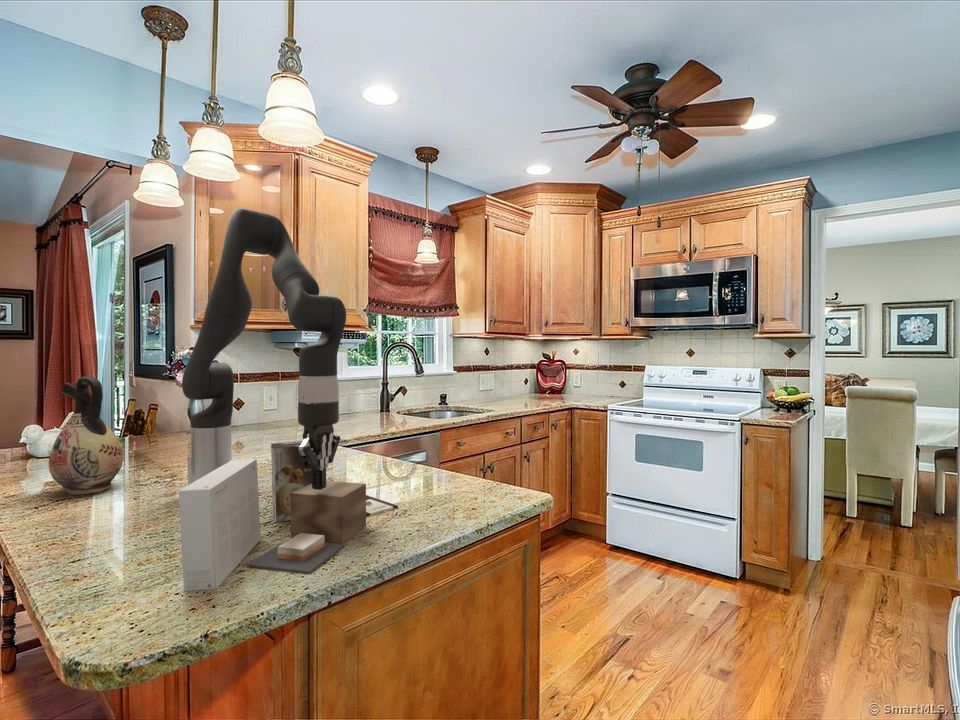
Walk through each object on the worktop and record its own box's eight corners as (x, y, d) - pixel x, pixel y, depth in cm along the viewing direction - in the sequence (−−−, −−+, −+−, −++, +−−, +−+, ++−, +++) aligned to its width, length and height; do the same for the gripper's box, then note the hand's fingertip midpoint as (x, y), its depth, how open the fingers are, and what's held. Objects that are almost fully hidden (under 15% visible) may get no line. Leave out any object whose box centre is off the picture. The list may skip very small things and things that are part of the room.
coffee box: (314, 508, 121) (313, 439, 120) (319, 516, 115) (318, 444, 115) (271, 514, 117) (270, 442, 116) (274, 523, 111) (274, 447, 110)
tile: (300, 533, 98) (300, 543, 98) (277, 546, 91) (277, 558, 91) (324, 535, 97) (324, 546, 97) (303, 549, 90) (303, 560, 90)
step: (291, 539, 101) (290, 493, 101) (318, 522, 111) (318, 480, 111) (342, 544, 99) (342, 497, 99) (366, 526, 109) (365, 483, 108)
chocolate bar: (354, 491, 134) (397, 505, 121) (354, 494, 134) (397, 509, 121) (322, 498, 127) (365, 514, 115) (322, 502, 127) (365, 518, 115)
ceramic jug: (34, 495, 131) (32, 376, 131) (99, 480, 146) (97, 373, 145) (78, 503, 125) (75, 377, 124) (141, 487, 139) (139, 374, 138)
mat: (246, 566, 89) (246, 564, 89) (288, 541, 100) (288, 539, 100) (309, 573, 86) (309, 571, 86) (345, 546, 98) (345, 544, 98)
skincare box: (232, 541, 101) (231, 459, 100) (261, 540, 101) (260, 458, 101) (178, 592, 80) (177, 488, 79) (215, 591, 80) (214, 488, 80)
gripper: (319, 395, 108) (319, 479, 108) (280, 402, 95) (281, 496, 95) (352, 396, 106) (352, 481, 106) (317, 403, 93) (318, 499, 94)
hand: (319, 488), depth 101 cm, fingers closed
